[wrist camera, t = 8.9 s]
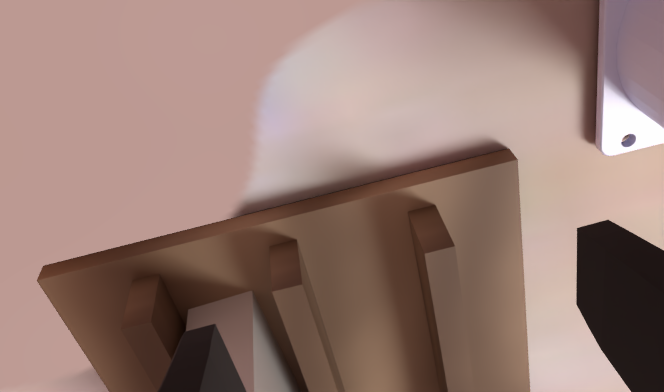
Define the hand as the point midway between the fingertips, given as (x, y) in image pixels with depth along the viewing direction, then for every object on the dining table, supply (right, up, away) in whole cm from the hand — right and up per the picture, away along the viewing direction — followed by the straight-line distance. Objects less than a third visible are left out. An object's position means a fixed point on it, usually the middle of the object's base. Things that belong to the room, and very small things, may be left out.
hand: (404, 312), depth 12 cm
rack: (-2, -5, +15) cm, 16 cm away
